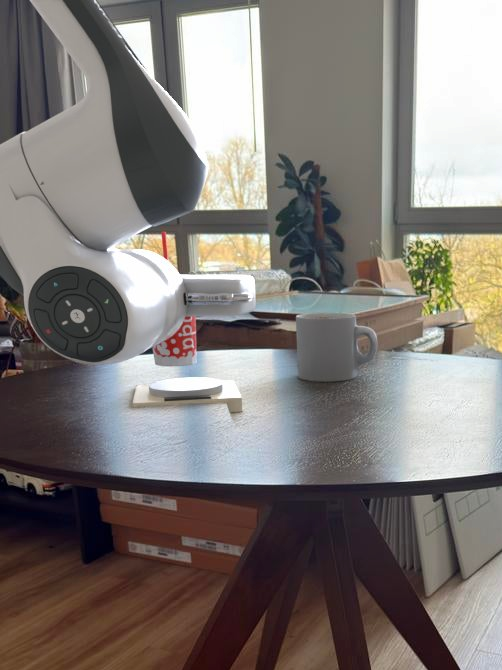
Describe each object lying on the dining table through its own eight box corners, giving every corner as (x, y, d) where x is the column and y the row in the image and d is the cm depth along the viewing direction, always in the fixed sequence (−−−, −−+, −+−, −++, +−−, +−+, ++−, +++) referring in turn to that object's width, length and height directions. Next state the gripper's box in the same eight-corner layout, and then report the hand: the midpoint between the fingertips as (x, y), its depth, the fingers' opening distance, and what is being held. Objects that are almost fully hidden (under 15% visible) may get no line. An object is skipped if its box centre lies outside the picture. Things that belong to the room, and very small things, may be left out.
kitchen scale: (134, 418, 94) (131, 395, 93) (137, 398, 106) (135, 378, 105) (242, 411, 98) (241, 389, 97) (234, 393, 109) (233, 373, 108)
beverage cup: (164, 369, 78) (150, 231, 73) (138, 362, 83) (123, 231, 78) (213, 363, 82) (203, 232, 77) (186, 357, 86) (175, 232, 82)
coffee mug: (290, 380, 119) (287, 318, 116) (309, 370, 128) (307, 312, 125) (368, 383, 117) (368, 320, 113) (382, 373, 126) (382, 314, 122)
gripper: (246, 264, 67) (262, 260, 80) (21, 263, 66) (74, 259, 79) (250, 333, 69) (265, 318, 82) (32, 333, 68) (82, 318, 81)
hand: (170, 289), depth 80 cm, fingers closed on beverage cup, 6 cm apart
